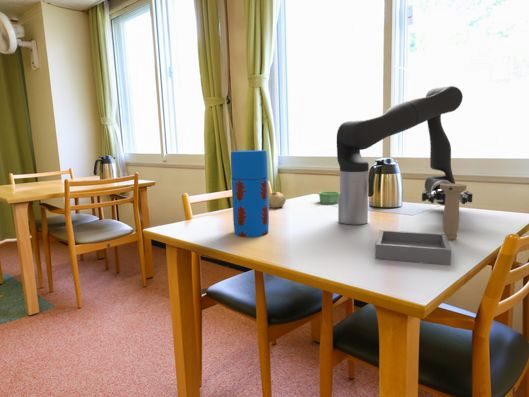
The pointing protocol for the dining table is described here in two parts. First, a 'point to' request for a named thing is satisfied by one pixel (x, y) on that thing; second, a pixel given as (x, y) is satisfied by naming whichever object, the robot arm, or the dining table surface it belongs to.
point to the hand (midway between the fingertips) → (448, 200)
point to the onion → (276, 200)
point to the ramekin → (329, 197)
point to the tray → (413, 247)
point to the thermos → (250, 193)
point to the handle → (451, 209)
